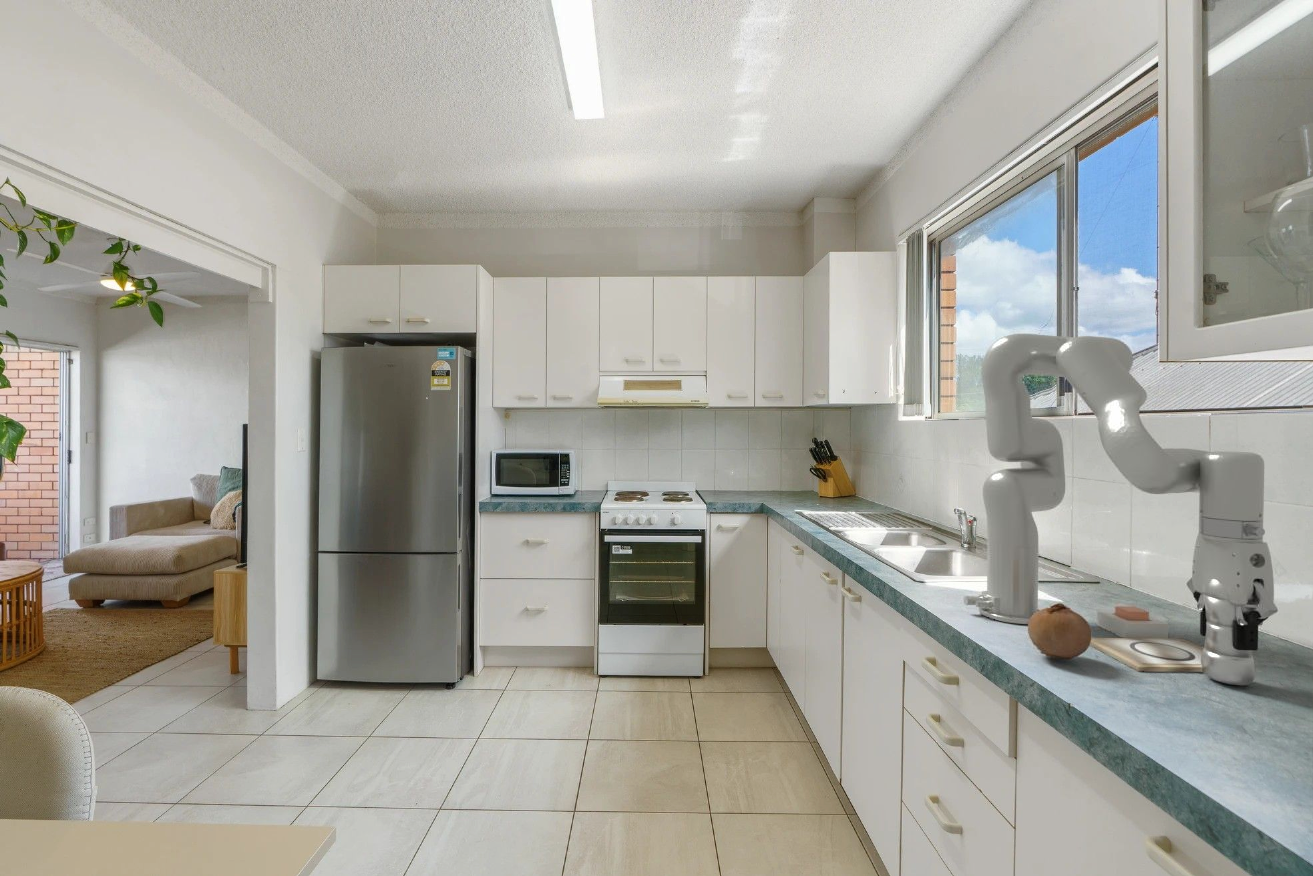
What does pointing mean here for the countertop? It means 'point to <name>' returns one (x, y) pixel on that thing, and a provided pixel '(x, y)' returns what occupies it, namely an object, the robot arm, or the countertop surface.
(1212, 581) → the plastic bottle
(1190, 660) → the board
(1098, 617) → the button housing
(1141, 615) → the button
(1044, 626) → the onion
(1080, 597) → the countertop surface
